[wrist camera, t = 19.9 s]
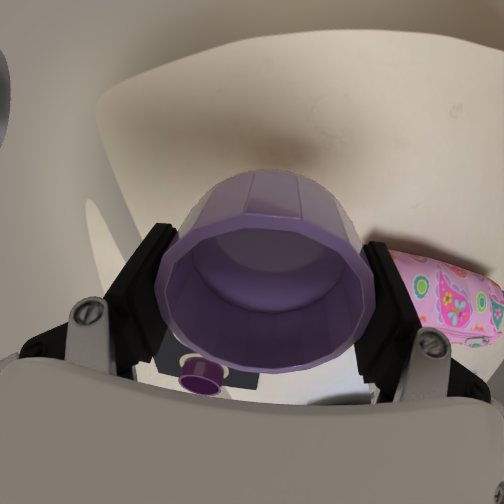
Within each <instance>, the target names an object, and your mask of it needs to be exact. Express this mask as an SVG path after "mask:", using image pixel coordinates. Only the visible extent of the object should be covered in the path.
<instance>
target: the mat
mask: <svg viewBox="0 0 504 504" xmlns="http://www.w3.org/2000/svg"><path fill="white" fill-rule="evenodd" d="M190 357H203V356H201V355H200V354H198V353H197V352H195V351H193V350H192V349H190V348H189V347H187V346H186V345H184V344H183V343H182V342H181V341H180V340H179V339H178V338H177V337H176V335H175V334H174V333H173V332H172V331H171V329H170V328H169V327H168V328H167V331H166V333H165V336H164V339H163V341H162V344H161V346H160V349H159V352H158V354H157V355H156V356H153V358H154V361H155V364H156V367H157V369H158V372H159V373H162V374H166V375H171V376H175V377H179V376H180V372H181V369H182V366H183V364H184V361H185V360H186V359H187V358H190ZM220 365H221V364H220ZM221 366H222V367H223V368H224V371H225V373H224V380H223V385H222V386H229V387H236V388H243V389H251V390H256V389H257V384H258V379H259V373H256V372H246V371H241V370H240V371H239V370H236V369H233V368H230V367H227V366H224V365H221Z"/></svg>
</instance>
